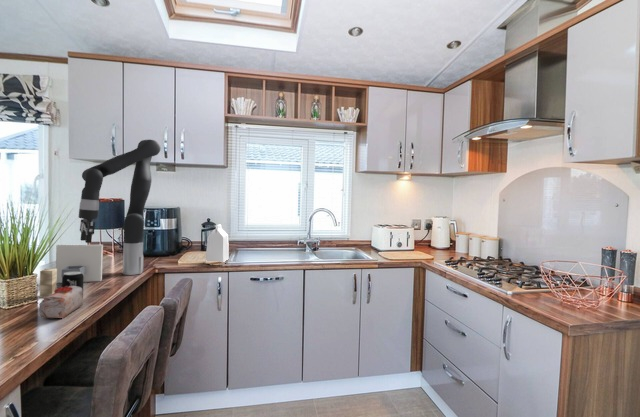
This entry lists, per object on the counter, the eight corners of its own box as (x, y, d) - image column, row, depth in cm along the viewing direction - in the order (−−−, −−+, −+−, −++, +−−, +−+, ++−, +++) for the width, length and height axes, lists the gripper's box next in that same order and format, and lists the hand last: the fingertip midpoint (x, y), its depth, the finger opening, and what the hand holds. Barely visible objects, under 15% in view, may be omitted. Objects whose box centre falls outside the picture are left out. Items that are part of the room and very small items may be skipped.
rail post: (56, 293, 128) (56, 268, 127) (51, 296, 124) (52, 270, 124) (44, 294, 126) (45, 268, 126) (39, 297, 122) (40, 271, 122)
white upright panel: (101, 279, 150) (102, 244, 150) (94, 286, 140) (95, 248, 139) (57, 281, 144) (58, 244, 143) (45, 288, 133) (46, 248, 132)
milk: (222, 265, 193) (224, 226, 192) (205, 264, 193) (206, 225, 192) (228, 262, 205) (230, 224, 204) (212, 261, 205) (213, 223, 204)
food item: (63, 320, 103) (64, 292, 102) (36, 321, 101) (36, 293, 100) (85, 306, 116) (85, 281, 116) (61, 307, 114) (61, 281, 114)
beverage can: (59, 306, 115) (60, 275, 114) (64, 300, 120) (65, 271, 120) (80, 304, 118) (81, 274, 117) (84, 298, 124) (85, 270, 123)
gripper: (102, 210, 145) (99, 243, 145) (94, 208, 154) (90, 239, 154) (83, 209, 139) (80, 243, 139) (75, 207, 148) (72, 239, 148)
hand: (85, 241), depth 147 cm, fingers open, 8 cm apart
